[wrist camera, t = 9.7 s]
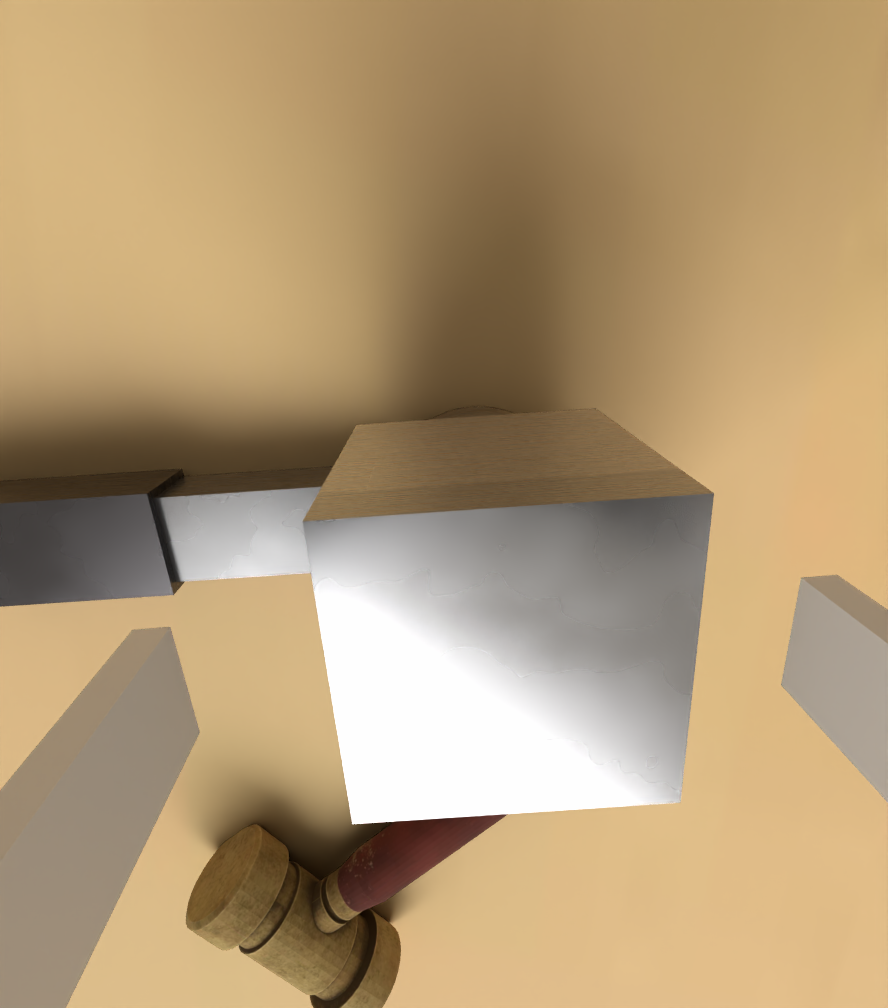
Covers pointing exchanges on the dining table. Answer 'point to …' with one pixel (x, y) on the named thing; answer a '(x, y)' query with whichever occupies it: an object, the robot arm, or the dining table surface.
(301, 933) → the gavel
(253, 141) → the dining table surface
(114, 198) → the dining table surface
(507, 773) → the brushed metal cube
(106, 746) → the robot arm
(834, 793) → the dining table surface
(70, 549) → the ratchet
